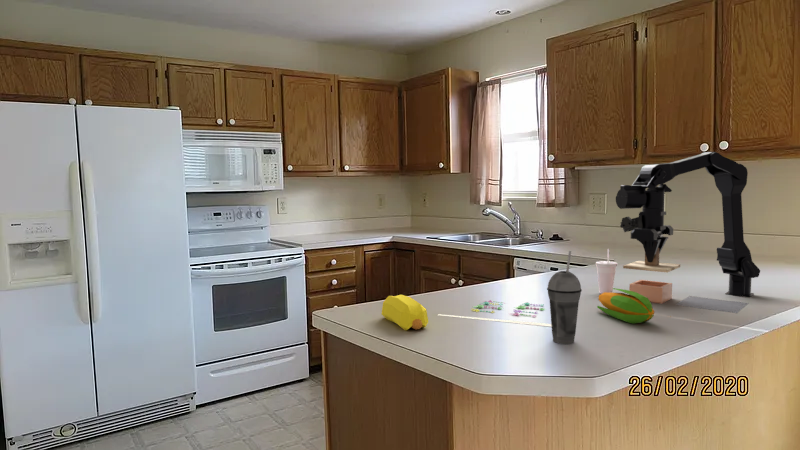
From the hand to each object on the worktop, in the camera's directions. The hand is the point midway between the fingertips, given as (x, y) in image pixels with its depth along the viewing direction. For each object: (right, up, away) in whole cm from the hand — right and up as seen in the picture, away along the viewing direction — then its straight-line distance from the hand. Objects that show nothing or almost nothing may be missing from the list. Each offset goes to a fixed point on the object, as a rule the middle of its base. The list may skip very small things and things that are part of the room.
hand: (651, 261), depth 156 cm
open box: (0, -11, +1) cm, 12 cm away
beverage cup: (-37, -15, -38) cm, 55 cm away
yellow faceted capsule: (-72, -15, -21) cm, 77 cm away
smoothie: (-9, -11, +12) cm, 18 cm away
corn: (-16, -14, -18) cm, 28 cm away
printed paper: (-44, -13, -6) cm, 46 cm away
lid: (0, -2, 0) cm, 2 cm away
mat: (+14, -12, -6) cm, 19 cm away
